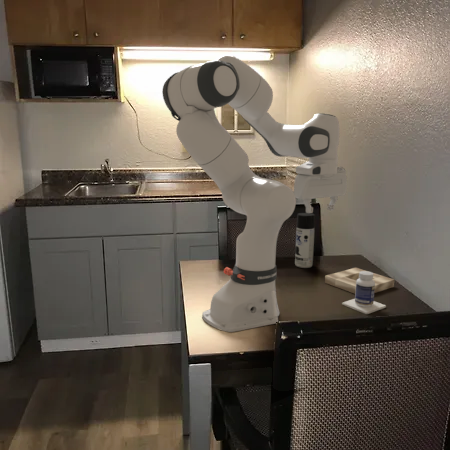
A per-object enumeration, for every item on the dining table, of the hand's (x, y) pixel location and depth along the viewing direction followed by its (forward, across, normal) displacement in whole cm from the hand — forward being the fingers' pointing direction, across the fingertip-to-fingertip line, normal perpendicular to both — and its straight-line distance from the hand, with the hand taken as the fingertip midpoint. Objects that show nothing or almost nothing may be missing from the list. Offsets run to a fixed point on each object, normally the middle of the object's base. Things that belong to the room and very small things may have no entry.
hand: (320, 211), depth 149 cm
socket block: (+26, -16, +5) cm, 31 cm away
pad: (+26, -2, +18) cm, 32 cm away
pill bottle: (+26, -2, +18) cm, 31 cm away
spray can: (+26, -15, -21) cm, 37 cm away
